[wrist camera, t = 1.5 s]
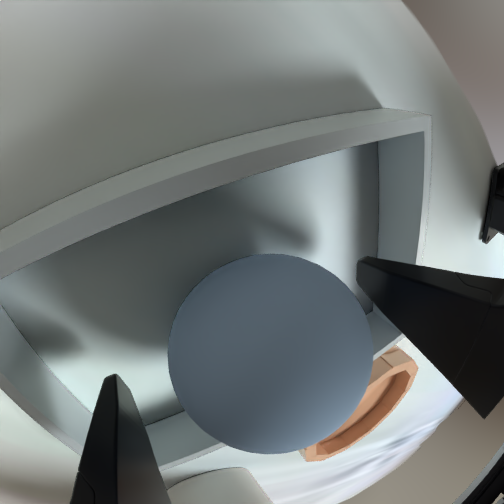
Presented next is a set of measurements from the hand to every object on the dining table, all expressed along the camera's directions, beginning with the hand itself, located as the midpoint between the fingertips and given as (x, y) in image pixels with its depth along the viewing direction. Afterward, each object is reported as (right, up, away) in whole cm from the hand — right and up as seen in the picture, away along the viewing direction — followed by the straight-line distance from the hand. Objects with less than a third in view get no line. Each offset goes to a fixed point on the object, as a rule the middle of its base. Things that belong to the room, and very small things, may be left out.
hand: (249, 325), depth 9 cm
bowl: (+7, -8, +10) cm, 14 cm away
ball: (-1, +1, +1) cm, 1 cm away
